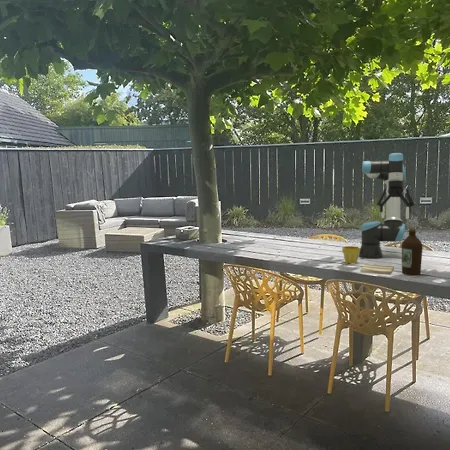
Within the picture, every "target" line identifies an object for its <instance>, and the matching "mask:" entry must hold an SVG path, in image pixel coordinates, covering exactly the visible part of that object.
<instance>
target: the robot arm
mask: <svg viewBox="0 0 450 450" xmlns="http://www.w3.org/2000/svg"><path fill="white" fill-rule="evenodd" d="M404 165H405V164H404V154H403V153H401V152H394V153H393V152H392V153H390V154H389V155H388V160H366V161H365V160H364V161H362V168H361V169H362V170H361V171H362V173H363V174H364V175H366V176H367V177H368V178H370V179H372V180H375V181H383V182H384V184H385V185H386V188H383V189H382V191H381V195H380V196H379V198H378V200H377V202H376V206H378V207H379V212H380V213H381V215H380V217H381V219H384V220H383V223H381V221H379V220H378V221H377V220H376V221H374V220H373V221H368V222H364V223H362V225H361V229H360V230H361V245H360V247H359V248H360V253H359V254H358V258H363V259H368V260H369V259H374V260H376V259H382V258H383V251H382V247H381V242H393V243H397V242H398V243H401V242H403V241H404V238H405V237H404V235H405V232H406V231H405V230H406V224H405V223H403V222H404V221H403V220H402V219H401V200H402V202H403V204H404V205H405V206H406V207H405V219H408V220H409V219H410V213H411V212H412V211H411V210H412V209H411V208H412V207H413V206H415V202H414V201H413V198H412V197H411V195H410V192H409V189H408V188H407V189H404V187H403V186H404V185H403V184H404V183H403V182H404V181H406V170H405V166H404ZM403 193H404V195H405V196H404V195H403ZM385 196H386V197H385ZM384 197H385V198H384ZM385 204H386V205H385ZM385 206H386V207H385ZM385 208H386V217H385Z"/></svg>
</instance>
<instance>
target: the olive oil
mask: <svg viewBox="0 0 450 450" xmlns="http://www.w3.org/2000/svg"><path fill="white" fill-rule="evenodd" d="M401 242H402V243H401V245H400V246H401V248H400V249H401V274H402V275H405V276H410V277H411V276H415V277H417V276H420V275H421V274H422V273H421V272H422V258H423V242H422V241H421V240H420V239H419V238H418V237H417V236H416V228H409V229H408V236H407V237H405V238H404V239H403V240H402V241H401Z"/></svg>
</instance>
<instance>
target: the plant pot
mask: <svg viewBox="0 0 450 450" xmlns="http://www.w3.org/2000/svg"><path fill="white" fill-rule="evenodd" d="M360 248H361V247H359V246H354V245H347V246H346V245H345V246H343V247H342V249H341V250H342V253H343V256H344V261H345V264H348V263H355V264H357V262H358V258H359V253H360Z"/></svg>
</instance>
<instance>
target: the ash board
mask: <svg viewBox="0 0 450 450" xmlns="http://www.w3.org/2000/svg"><path fill="white" fill-rule="evenodd" d="M394 267H395V266H394V265H383V264H370V263H365V264H364V265H363V266H362V267H361V268H360V273H367V274H379V275H388V276H389V275H391V274H392V273H393V271H394Z"/></svg>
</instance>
